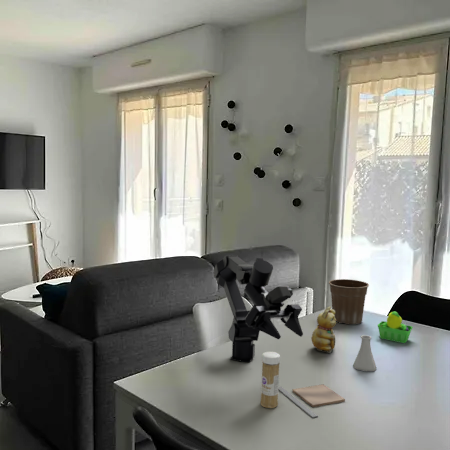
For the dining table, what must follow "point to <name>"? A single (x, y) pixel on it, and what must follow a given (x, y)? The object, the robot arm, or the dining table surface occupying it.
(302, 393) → the board
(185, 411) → the dining table surface
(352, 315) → the plant pot
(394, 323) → the fruit basket
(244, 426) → the dining table surface
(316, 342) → the decorative figurine
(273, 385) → the sprinkles bottle
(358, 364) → the flask
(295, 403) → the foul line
